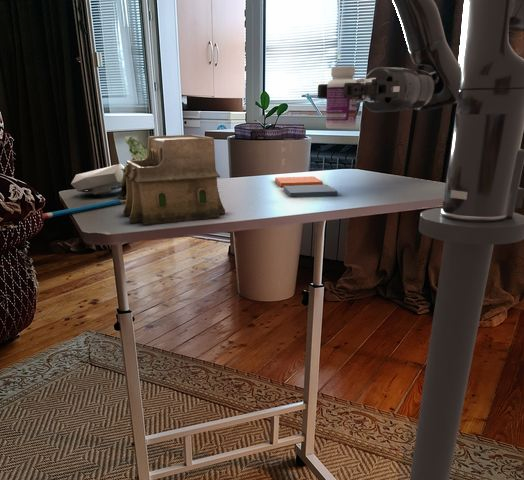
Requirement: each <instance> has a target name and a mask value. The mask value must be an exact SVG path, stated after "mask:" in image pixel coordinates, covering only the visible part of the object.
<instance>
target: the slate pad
mask: <svg viewBox="0 0 524 480" xmlns="http://www.w3.org/2000/svg"><path fill="white" fill-rule="evenodd" d="M283 191H284V192H285V193H286V194H287V195H288V196H289V197H290V198H304V197H305V198H306V197H308V198H309V197H334V196H335V197H336V196H338V190H336V189H335V188H333V187H332V186H330V185H329V184H323V185H298V186H284V187H283Z"/></svg>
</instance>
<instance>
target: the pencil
mask: <svg viewBox="0 0 524 480" xmlns="http://www.w3.org/2000/svg"><path fill="white" fill-rule="evenodd" d="M123 203H126V199H115V200H110V201H104V202H99V203H94V204H88V205H83V206H79V207H72V208H67V209H63V210H61V209H60V210H57V211H56V210H55V211H51V212H46V213H42V214H41V218H42V219H44V220H45V219H46V220H47V219H50V218H51V219H52V218H55V217H56V218H57V217H61V216H65V215H71V214H76V213H81V212H87V211H93V210H96V209H103V208H106V207H111V206H117V205H121V204H123Z"/></svg>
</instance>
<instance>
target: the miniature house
mask: <svg viewBox="0 0 524 480" xmlns="http://www.w3.org/2000/svg"><path fill="white" fill-rule="evenodd" d="M147 148H148V155H147V157H146V158H145V159H144V160H133V161H131V160H126V161H125V163H126V164H125V167H126V171H125V172H124V175H123V176H125V177H126V185H127V196H125V197H126V198H125V200H126V201H125V204H124V209H123V210H122V212H123V216H124V217H128V219H129V223H130V224H139V223H142V224H143V225H144V226H149V225H160V224H168V223H169V224H170V223H177V222H179V223H180V222H188V221H199V220H209V219H219V218H220V215H226V209H225V208H224V206H223V203H222V200H221V197H220V196H221V195H220V192H219V187H218V178H221V175H220V174H219V173H218V171H217V169H216V150H215V138H214V137H211V136H205V135H199V134H198V135H197V134H175V135H174V134H173V135H150V136H148V137H147Z"/></svg>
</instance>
